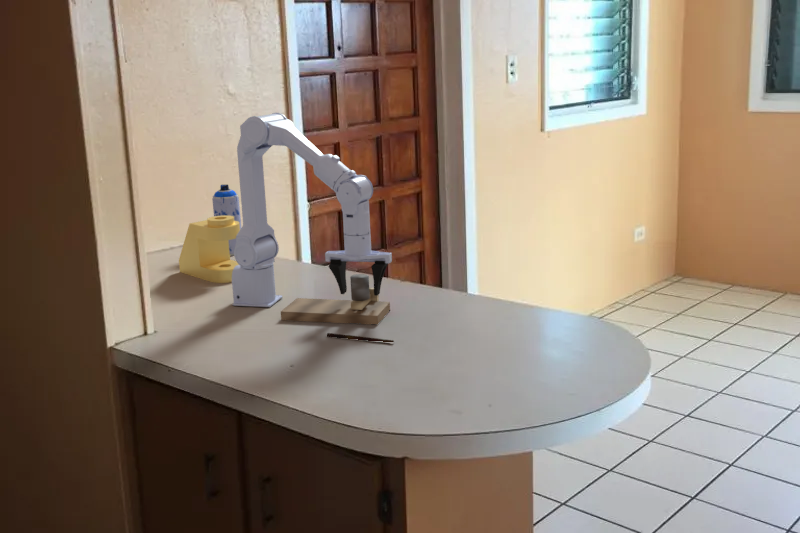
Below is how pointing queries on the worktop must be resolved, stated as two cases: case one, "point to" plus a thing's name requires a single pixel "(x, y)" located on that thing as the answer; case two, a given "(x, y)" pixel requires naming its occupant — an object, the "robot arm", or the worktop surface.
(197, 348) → the worktop surface
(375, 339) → the dark notched rod
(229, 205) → the aerosol can
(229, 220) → the yellow bracket
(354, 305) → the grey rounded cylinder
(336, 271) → the robot arm
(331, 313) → the board
